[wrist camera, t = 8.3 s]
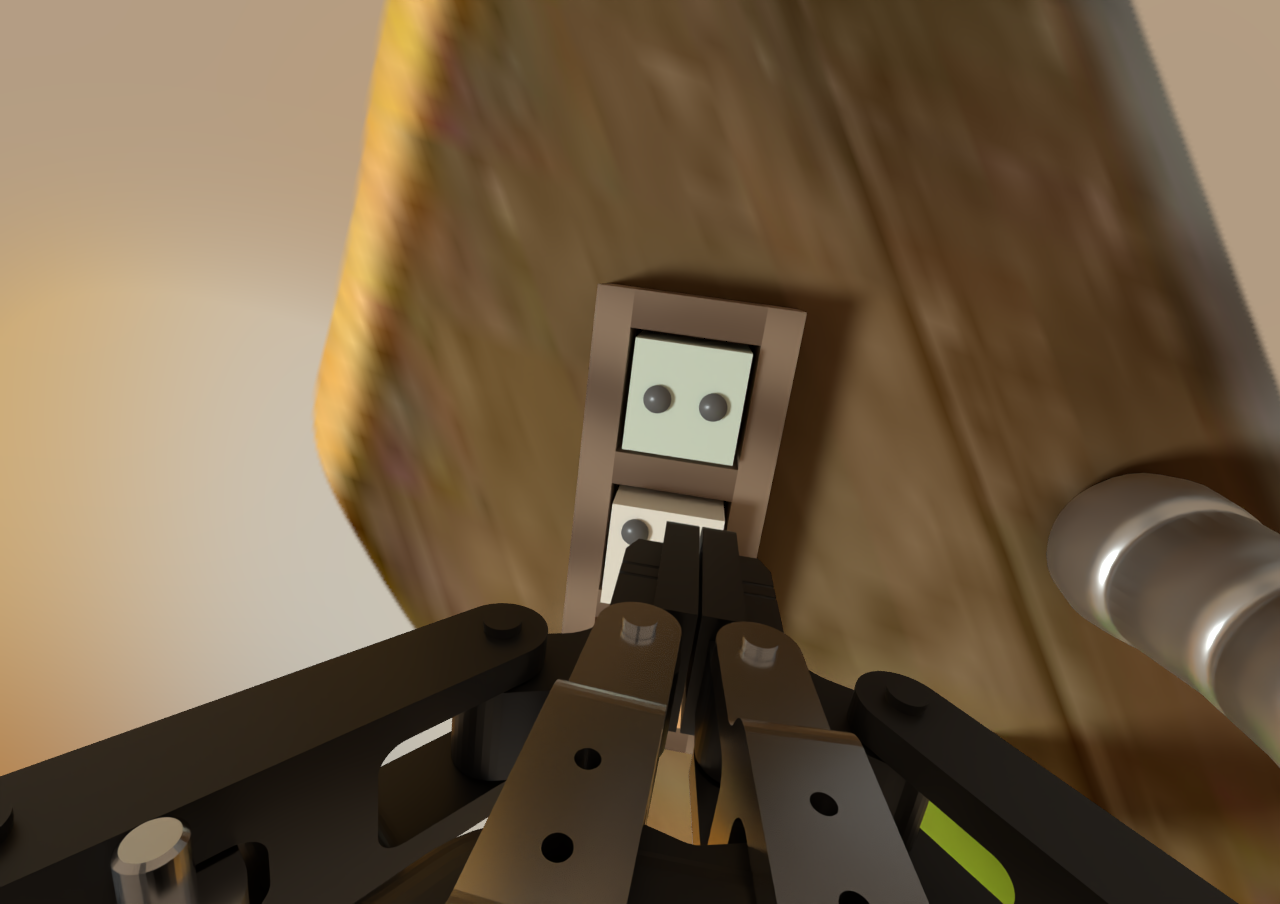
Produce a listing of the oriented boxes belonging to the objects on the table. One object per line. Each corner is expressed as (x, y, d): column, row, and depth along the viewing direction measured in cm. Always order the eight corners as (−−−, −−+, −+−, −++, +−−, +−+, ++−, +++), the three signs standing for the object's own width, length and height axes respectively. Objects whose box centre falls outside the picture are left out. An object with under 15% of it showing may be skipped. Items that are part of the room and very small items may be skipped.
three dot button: (622, 479, 27) (611, 505, 24) (722, 494, 27) (725, 522, 24) (610, 568, 28) (599, 604, 25) (706, 584, 28) (706, 622, 25)
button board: (607, 282, 26) (598, 283, 23) (797, 308, 25) (807, 312, 23) (563, 694, 32) (551, 728, 29) (714, 721, 31) (715, 758, 29)
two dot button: (643, 330, 26) (635, 338, 23) (747, 344, 26) (753, 354, 23) (630, 430, 27) (621, 449, 24) (729, 445, 27) (732, 467, 24)
